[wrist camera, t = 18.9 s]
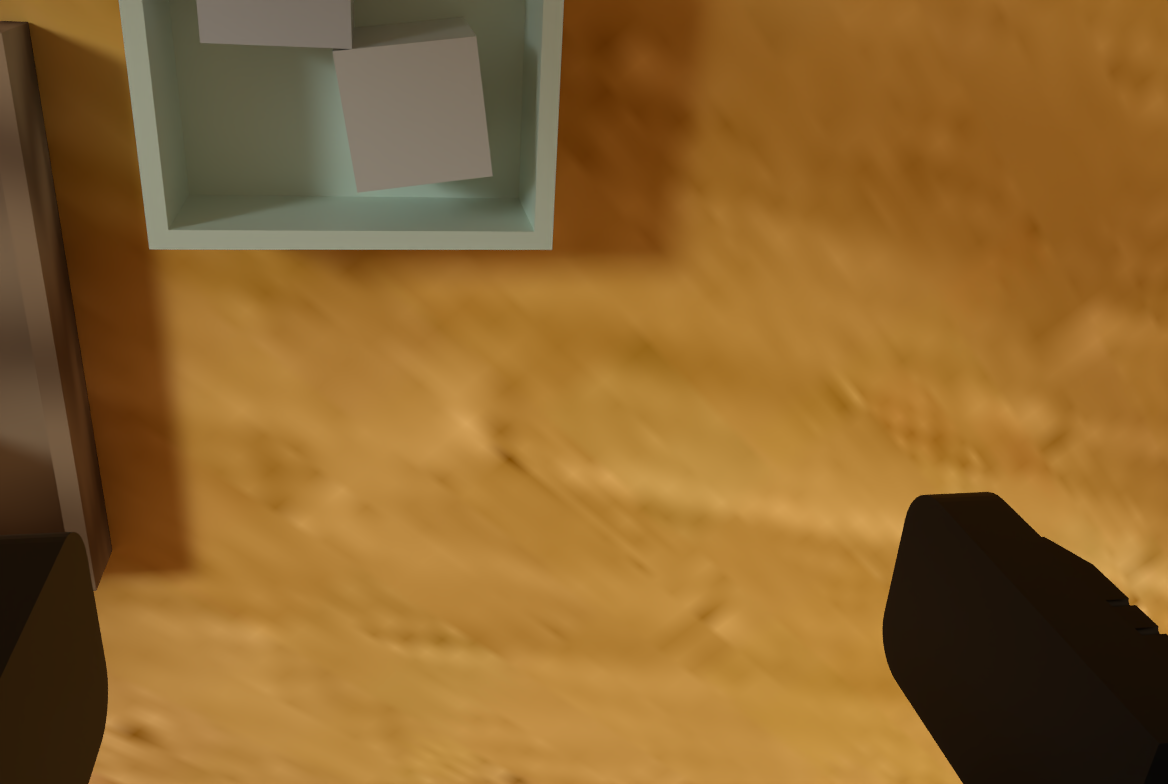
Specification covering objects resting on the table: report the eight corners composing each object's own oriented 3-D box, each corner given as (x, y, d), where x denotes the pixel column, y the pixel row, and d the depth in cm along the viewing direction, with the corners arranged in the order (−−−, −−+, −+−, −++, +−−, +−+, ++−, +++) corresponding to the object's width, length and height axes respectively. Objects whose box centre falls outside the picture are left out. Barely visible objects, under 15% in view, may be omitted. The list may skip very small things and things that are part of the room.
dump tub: (129, -207, 30) (91, -221, 26) (547, -174, 32) (572, -183, 28) (175, 207, 35) (149, 249, 31) (532, 210, 38) (552, 249, 34)
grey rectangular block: (337, 29, 33) (332, 51, 29) (462, 16, 34) (476, 36, 29) (359, 153, 35) (357, 192, 31) (477, 139, 36) (492, 176, 31)
